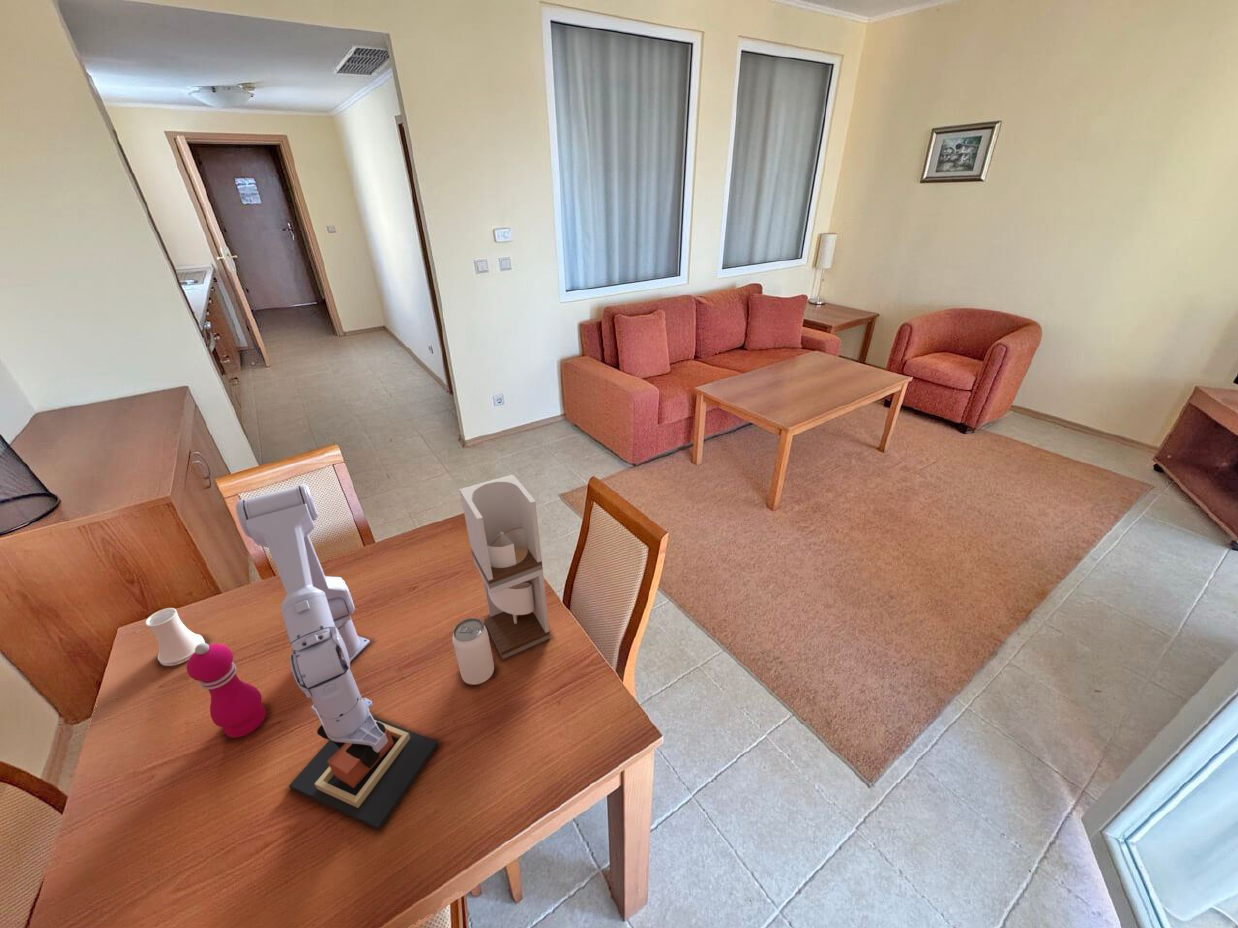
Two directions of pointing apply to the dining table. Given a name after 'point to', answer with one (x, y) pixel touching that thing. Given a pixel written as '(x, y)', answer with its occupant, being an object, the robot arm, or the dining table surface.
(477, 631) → the can
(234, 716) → the pepper mill
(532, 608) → the white tower stand
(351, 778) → the reddish brown block
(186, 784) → the dining table surface
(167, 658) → the vase
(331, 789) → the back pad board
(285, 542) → the robot arm
